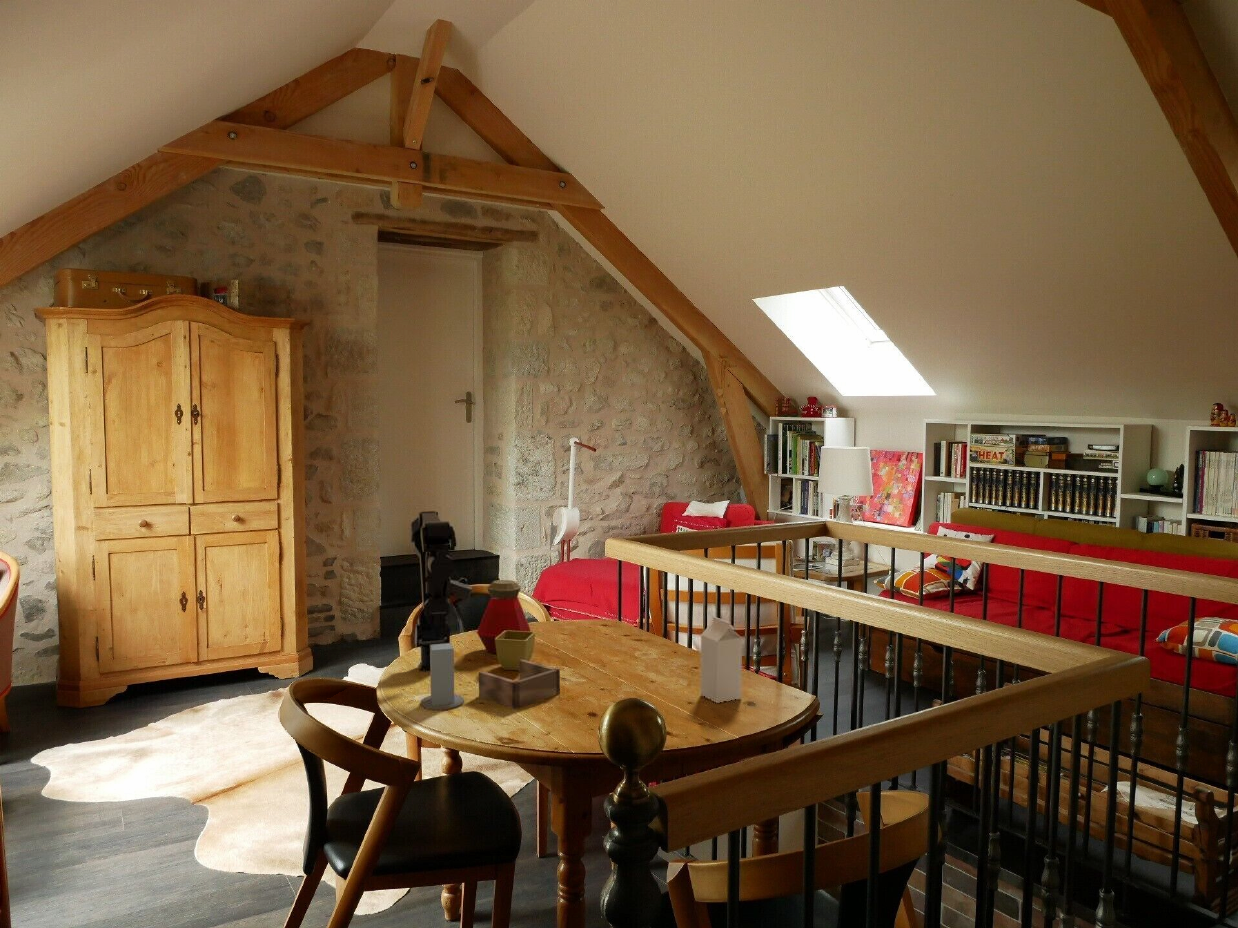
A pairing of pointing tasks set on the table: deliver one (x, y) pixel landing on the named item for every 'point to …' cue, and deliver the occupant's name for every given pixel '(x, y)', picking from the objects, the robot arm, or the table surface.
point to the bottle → (502, 613)
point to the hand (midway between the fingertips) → (438, 633)
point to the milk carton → (721, 662)
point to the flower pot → (514, 648)
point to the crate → (521, 685)
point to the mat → (428, 704)
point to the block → (442, 673)
